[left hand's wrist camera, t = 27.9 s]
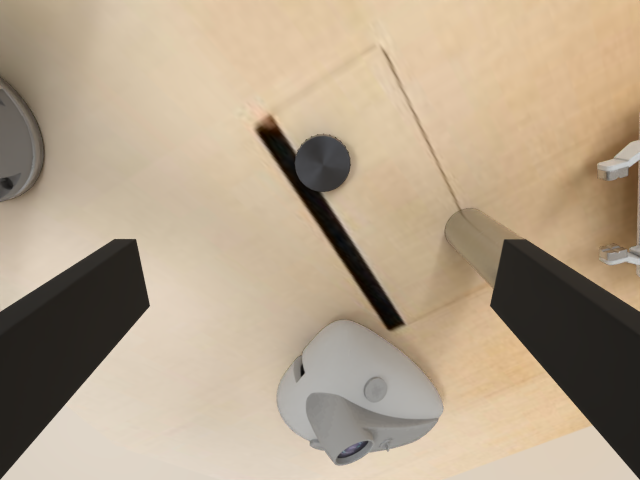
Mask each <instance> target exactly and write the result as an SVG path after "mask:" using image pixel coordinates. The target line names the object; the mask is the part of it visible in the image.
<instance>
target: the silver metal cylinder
mask: <svg viewBox="0 0 640 480" xmlns="http://www.w3.org/2000/svg"><path fill="white" fill-rule="evenodd" d="M445 236H446V239H447V241H448V242H449V243H450V244H451V245H452V247H453V248H454V249H455V250H456V251H457V252H458V253H459V254H460V255H461V256H462V257H463V258H464V259H465V260H466V261H467V262H468V263H469V264H470V265H471V266H472V267H473V268H474V269H475V270H476V272H477V273H478V274H479V275H480V276H481V277H482V278H483V279H484V280H485V281H486V282H487V283H488V284H489V285H490V286H491V287H492V288H493V289H494V285H495V280H496V275H497V271H498V266H499V261H500V256H501V251H502V246H503V242H504V239H524V238H522V237H520V236H519V235H517V234H516V233H514V232H513V231H511V230H509V229H508V228H506V227H505V226H503V225H502V224H500V223H499V222H497V221H495V220H494V219H492V218H491V217H489V216H488V215H486V214H484V213H483V212H481V211H480V210H477V209H473V208H468V209H463V210H460V211H458V212H457V213H455V214H454V215H453V216H452V217H451V218H450V219H449V221H448V222H447V224H446V228H445Z"/></svg>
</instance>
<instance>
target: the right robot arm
mask: <svg viewBox="0 0 640 480" xmlns="http://www.w3.org/2000/svg"><path fill="white" fill-rule="evenodd" d="M637 161H638V208H637V246H633V247H630V248H629V251H630V252H627V249H625V248H623V247H620V246H619V245H617V244H614V243H613V244H609V245H607V246H606V247H605V246H601V247H600V248H599V260H600V261H602V262H603V263H605V264H607V265H615V264H619V263H623V262H628V263H632V264H636V274H637V275H638V276H639V277H640V114H639V140H636V141H633V142H630V143H629V144H628V145H627V146H626V147H625V148H623V149H622V150H621V151H620V152H619V153H618V154H617V155H616V156H615V157H614V159H610V160H607V161H604V162H600V163H598V164H597V173H598V179H603V180H606V181H610V180H615V179H617V178H618V177H619V178H622V177H626V176H628V168H629V167H631V166H632V165H633V164H635V163H636V162H637Z"/></svg>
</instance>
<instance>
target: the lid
mask: <svg viewBox="0 0 640 480" xmlns="http://www.w3.org/2000/svg"><path fill="white" fill-rule="evenodd" d="M348 153H349V152H348V151H347V150H346V147H345V145H343V144H342V142H341V141H339V140H338V139H337V138H336V137H333V136H330V135H324V134H322V135H318V134H317V135H315V136H313V137H312V136H311V137H310V138H309V139H306V141H305V142H304V143H303V144H301V147H300V149H298V152H297V154H296V156H295V157H296V159H295V170H296V173H297V176H298V177H299V179H300V181H301V182H302V183H303V184H304V185H305V186H307V187H308V188H310V189H312V190H314V191H319V192H326V191H331V190H333V189H336V188H337V187H339V186H340V185H341V184H342V183H343V182H344V181H345V179H346V178H347V176H348V173H349V170H350V166H351V164H350V157H349V154H348Z"/></svg>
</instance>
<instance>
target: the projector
mask: <svg viewBox="0 0 640 480" xmlns="http://www.w3.org/2000/svg"><path fill="white" fill-rule="evenodd" d="M277 406H278V410H279V412H280V415H281V417H282V418H283V420H284V422H285V423H286V424H287V425H288V427H289V428H290V429H291V430H292V431H294V432H295V433H296V434H297V435H299V436H301V437H302V438H304V439H306V440H308V441H310V446H311V447H313V448H315V449H318V450H324V451H325V452H326V453H327V455H328V456H329V457H330V459H331V460H332V461H333V462H334V464H335V465H346V464H350V463H352V462H355V461H357V460H359V459H360V458H362V457H363V456H365V455H366V454H368V453H369V452H376V451H382V450H387V452H388V451H389V449H392V448H396V447H399V446H403V445H406V444H409V443H412V442H414V441H416V440H418V439H420V438H421V437H423V436H424V435H425V434H427V433H428V432H429V431H430V430H431V429H432V428H433V427H434V425H435V424H436V423H437V421H438V418H439V417H440V416H441V414H442V412H443V403H442V400H441V397H440V395H439V393H438V391H437V389H436V388H435V386H434V385H433V383H432V382H431V381H430V379H429V378H428V377H427V376H426V375H425V373H424V372H423V371H422V370H421V369H420V368H419V367H418V366H417V365H416V364H415V363H414V362H413V361H412V360H411V359H410V358H409V357H408V356H406V355H405V354H404V353H403V352H402V351H400V350H399V349H398V348H396V347H395V346H394V345H392V344H391V343H390V342H388V341H387V340H385V339H384V338H382V337H381V336H379V335H378V334H376V333H375V332H373V331H371V330H370V329H368V328H366V327H364V326H362V325H360V324H358V323H356V322H353V321H350V320H338V321H335V322H332V323H330V324H329V325H327V326H326V327H325V328H323V329H322V330H321V331H320V332H319V333H318V334H317V335H316V336H315V337H314V338H313V339H312V341H311V342H310V343H309V344H308V345H307V346H306V348H305V349H304V351H303V354H302V355H301V356H299V357H297V358H296V359H295V361H294V362H293V363H292V364H291V366H290V367H289V368H288V369H287V371H286V372H285V374H284V375H283V377H282V379H281V381H280V383H279V386H278V390H277Z"/></svg>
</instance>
